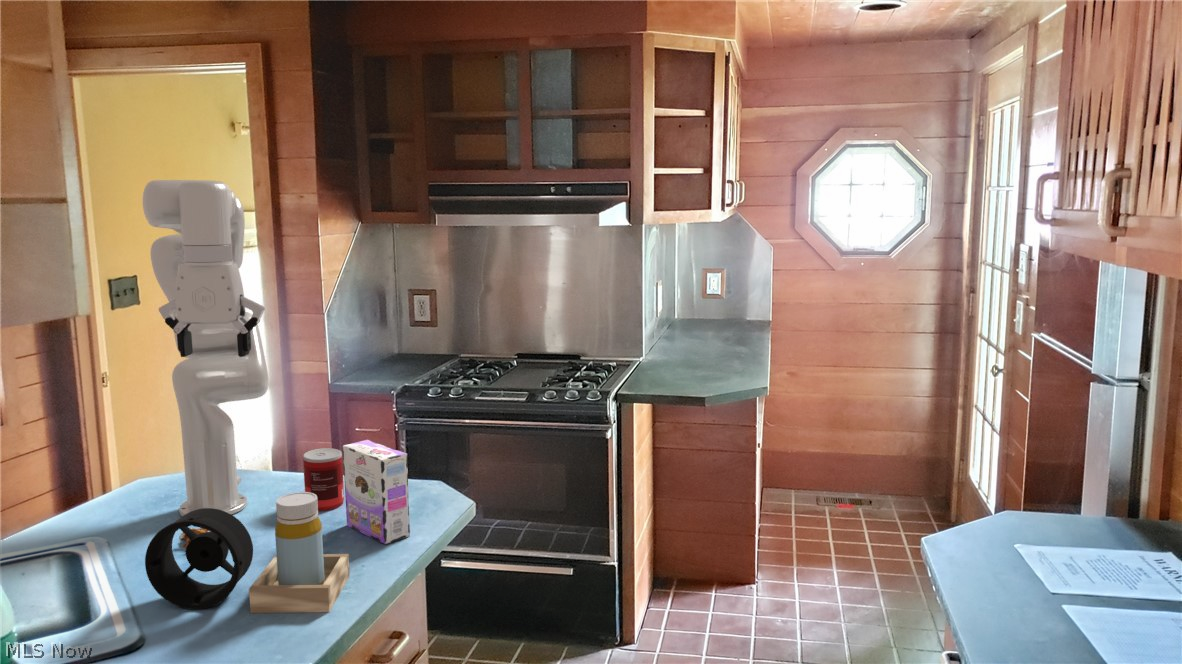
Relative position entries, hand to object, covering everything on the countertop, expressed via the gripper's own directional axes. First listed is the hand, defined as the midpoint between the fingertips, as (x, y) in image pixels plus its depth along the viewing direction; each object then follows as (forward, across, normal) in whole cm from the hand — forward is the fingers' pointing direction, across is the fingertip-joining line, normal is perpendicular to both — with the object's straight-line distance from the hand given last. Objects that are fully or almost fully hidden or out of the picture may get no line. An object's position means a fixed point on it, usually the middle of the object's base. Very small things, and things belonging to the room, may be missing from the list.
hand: (215, 355), depth 140 cm
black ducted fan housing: (+36, +3, -15) cm, 40 cm away
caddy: (+36, +18, -15) cm, 43 cm away
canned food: (+36, +10, +24) cm, 45 cm away
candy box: (+37, +24, +10) cm, 45 cm away
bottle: (+36, +17, -15) cm, 42 cm away
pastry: (+37, -8, +6) cm, 38 cm away
